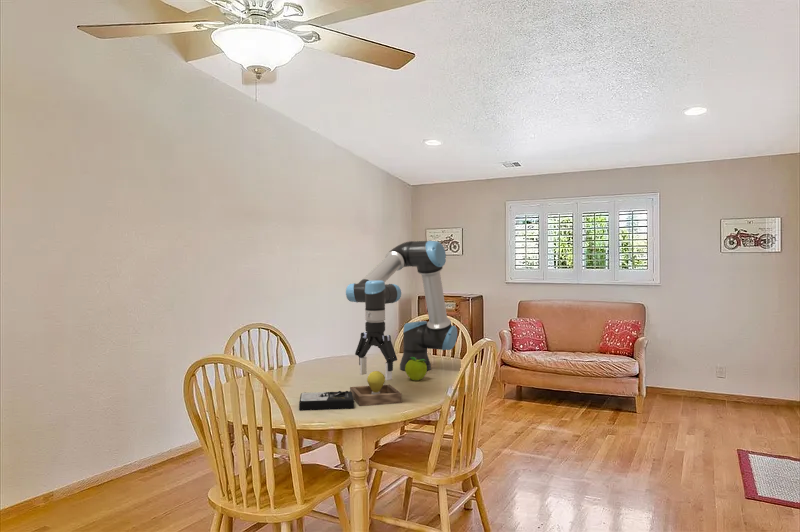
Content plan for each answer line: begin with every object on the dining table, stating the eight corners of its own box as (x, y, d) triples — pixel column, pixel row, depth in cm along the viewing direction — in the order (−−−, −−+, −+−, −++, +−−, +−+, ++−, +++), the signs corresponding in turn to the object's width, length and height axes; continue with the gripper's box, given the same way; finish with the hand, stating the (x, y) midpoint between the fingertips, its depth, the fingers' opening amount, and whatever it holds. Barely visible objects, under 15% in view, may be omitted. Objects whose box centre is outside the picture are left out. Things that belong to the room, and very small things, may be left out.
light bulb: (366, 395, 208) (367, 369, 208) (384, 395, 208) (384, 369, 208) (367, 399, 201) (367, 372, 201) (385, 399, 202) (385, 373, 202)
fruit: (415, 376, 246) (415, 354, 246) (430, 380, 239) (430, 357, 239) (401, 379, 239) (401, 357, 239) (416, 383, 233) (416, 360, 233)
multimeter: (354, 410, 191) (354, 395, 191) (298, 411, 188) (298, 397, 188) (352, 400, 204) (352, 387, 204) (300, 402, 201) (300, 389, 201)
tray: (389, 392, 215) (389, 384, 215) (401, 402, 199) (401, 393, 199) (350, 395, 210) (350, 387, 210) (359, 406, 195) (359, 396, 195)
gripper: (345, 319, 210) (346, 373, 211) (392, 324, 193) (392, 383, 194) (360, 317, 216) (360, 370, 216) (406, 322, 199) (406, 380, 199)
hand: (375, 377), depth 205 cm, fingers open, 13 cm apart
